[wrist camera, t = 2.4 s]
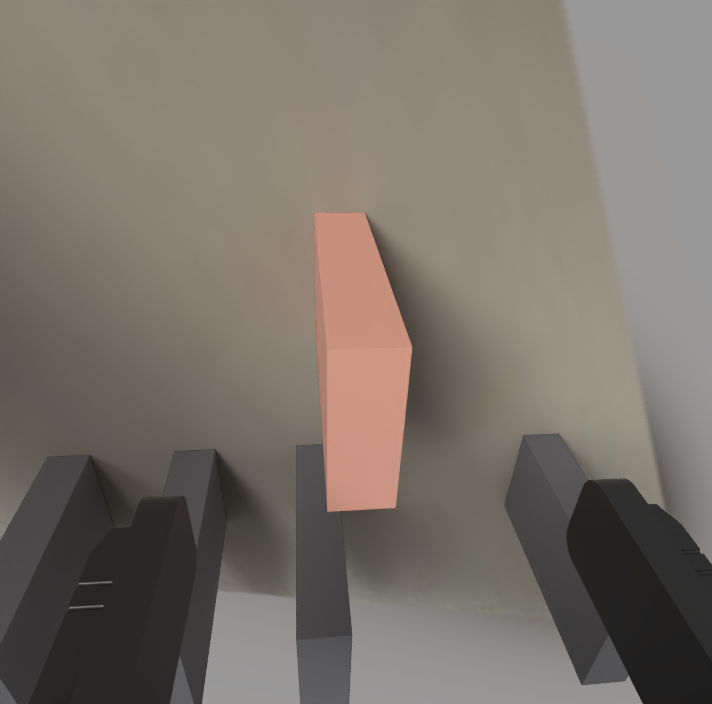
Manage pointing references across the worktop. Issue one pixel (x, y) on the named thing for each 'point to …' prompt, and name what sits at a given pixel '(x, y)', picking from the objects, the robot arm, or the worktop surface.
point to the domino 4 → (358, 365)
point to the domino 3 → (320, 588)
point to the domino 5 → (559, 552)
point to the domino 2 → (198, 563)
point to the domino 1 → (45, 566)
